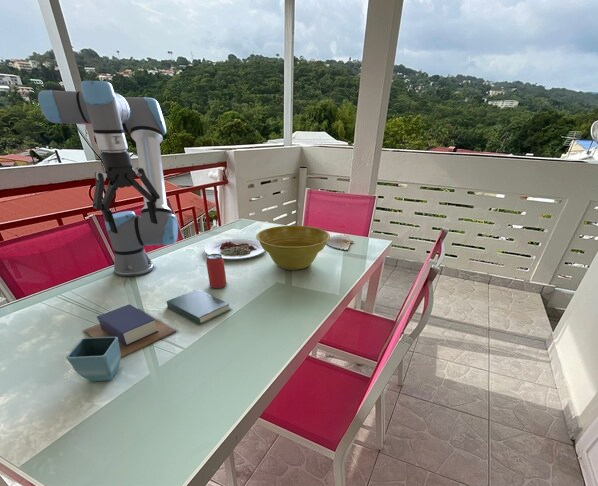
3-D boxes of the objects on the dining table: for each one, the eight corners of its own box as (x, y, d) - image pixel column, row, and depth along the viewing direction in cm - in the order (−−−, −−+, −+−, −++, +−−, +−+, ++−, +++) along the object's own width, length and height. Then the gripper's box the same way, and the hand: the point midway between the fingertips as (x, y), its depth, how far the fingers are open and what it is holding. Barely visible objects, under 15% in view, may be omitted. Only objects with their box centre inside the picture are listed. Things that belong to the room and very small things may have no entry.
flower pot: (94, 365, 89) (82, 337, 83) (128, 363, 89) (118, 336, 84) (79, 387, 81) (64, 357, 76) (116, 385, 82) (104, 356, 77)
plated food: (248, 266, 149) (248, 258, 147) (192, 257, 157) (191, 250, 155) (275, 246, 172) (275, 239, 170) (225, 239, 180) (224, 233, 178)
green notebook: (167, 307, 116) (166, 301, 114) (198, 295, 124) (197, 289, 122) (199, 324, 107) (198, 317, 105) (230, 309, 115) (229, 303, 113)
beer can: (223, 289, 128) (219, 259, 121) (207, 288, 129) (202, 258, 122) (229, 283, 133) (225, 253, 126) (214, 281, 134) (209, 252, 127)
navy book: (101, 328, 103) (96, 316, 100) (133, 316, 109) (129, 304, 107) (125, 346, 95) (121, 333, 92) (158, 331, 102) (155, 319, 99)
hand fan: (352, 235, 189) (325, 234, 189) (352, 234, 188) (325, 233, 189) (355, 250, 167) (325, 249, 168) (355, 249, 167) (325, 248, 167)
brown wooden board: (84, 331, 102) (83, 329, 102) (138, 310, 114) (138, 308, 114) (119, 358, 91) (119, 356, 91) (176, 331, 103) (175, 330, 102)
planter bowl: (244, 271, 143) (242, 240, 136) (276, 249, 168) (275, 221, 160) (314, 283, 134) (315, 251, 126) (337, 258, 158) (339, 229, 150)
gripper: (73, 155, 84) (101, 239, 97) (161, 148, 99) (175, 221, 112) (61, 153, 88) (90, 233, 100) (147, 147, 103) (163, 217, 116)
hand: (135, 227), depth 106 cm, fingers open, 13 cm apart
